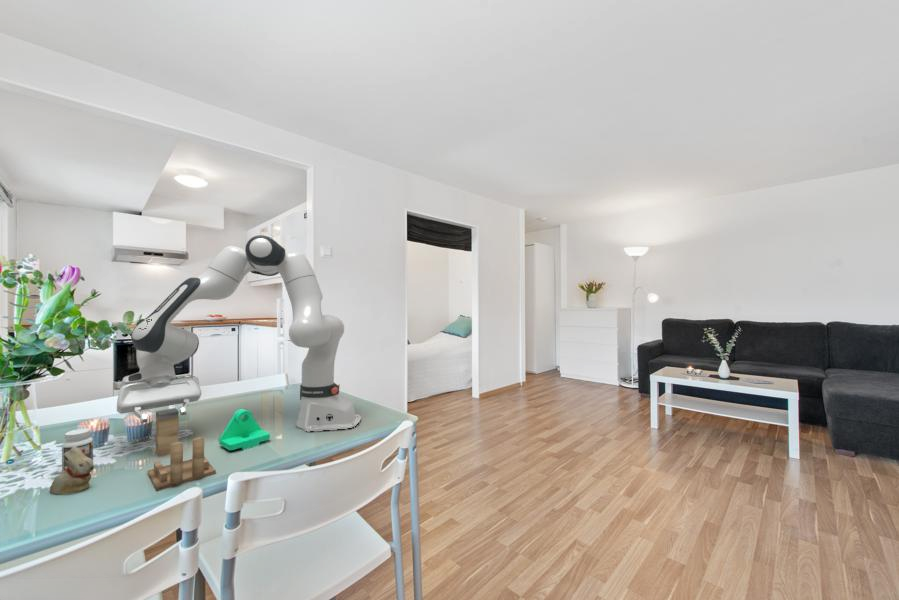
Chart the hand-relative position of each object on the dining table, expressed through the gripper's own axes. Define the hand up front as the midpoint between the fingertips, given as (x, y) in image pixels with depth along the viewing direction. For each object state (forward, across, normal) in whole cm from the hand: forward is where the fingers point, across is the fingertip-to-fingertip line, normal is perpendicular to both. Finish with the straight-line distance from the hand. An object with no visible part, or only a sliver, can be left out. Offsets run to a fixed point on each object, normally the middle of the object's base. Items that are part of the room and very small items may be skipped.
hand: (164, 417), depth 109 cm
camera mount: (+16, -18, +2) cm, 24 cm away
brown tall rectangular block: (+9, 0, -4) cm, 10 cm away
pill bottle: (+7, +18, -6) cm, 20 cm away
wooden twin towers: (+22, 0, +9) cm, 24 cm away
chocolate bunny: (+16, +20, +3) cm, 25 cm away
